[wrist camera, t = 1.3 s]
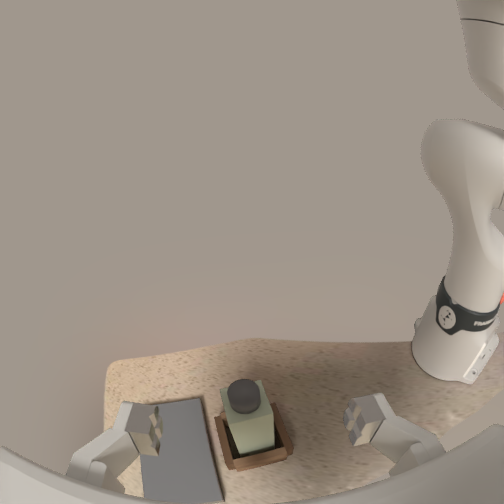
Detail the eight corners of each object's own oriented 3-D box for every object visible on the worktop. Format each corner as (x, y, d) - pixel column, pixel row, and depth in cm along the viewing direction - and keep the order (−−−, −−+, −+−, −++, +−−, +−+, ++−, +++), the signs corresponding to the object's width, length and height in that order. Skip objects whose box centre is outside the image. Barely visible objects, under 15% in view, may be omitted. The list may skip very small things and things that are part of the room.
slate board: (201, 402, 37) (199, 398, 37) (224, 501, 23) (222, 500, 22) (141, 410, 35) (138, 406, 35) (150, 507, 21) (145, 505, 20)
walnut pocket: (274, 409, 36) (273, 399, 34) (293, 457, 28) (294, 450, 27) (217, 422, 34) (213, 414, 33) (230, 473, 27) (226, 467, 25)
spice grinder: (265, 423, 34) (259, 369, 27) (274, 449, 30) (272, 404, 23) (233, 431, 33) (216, 379, 26) (241, 458, 29) (225, 415, 22)
